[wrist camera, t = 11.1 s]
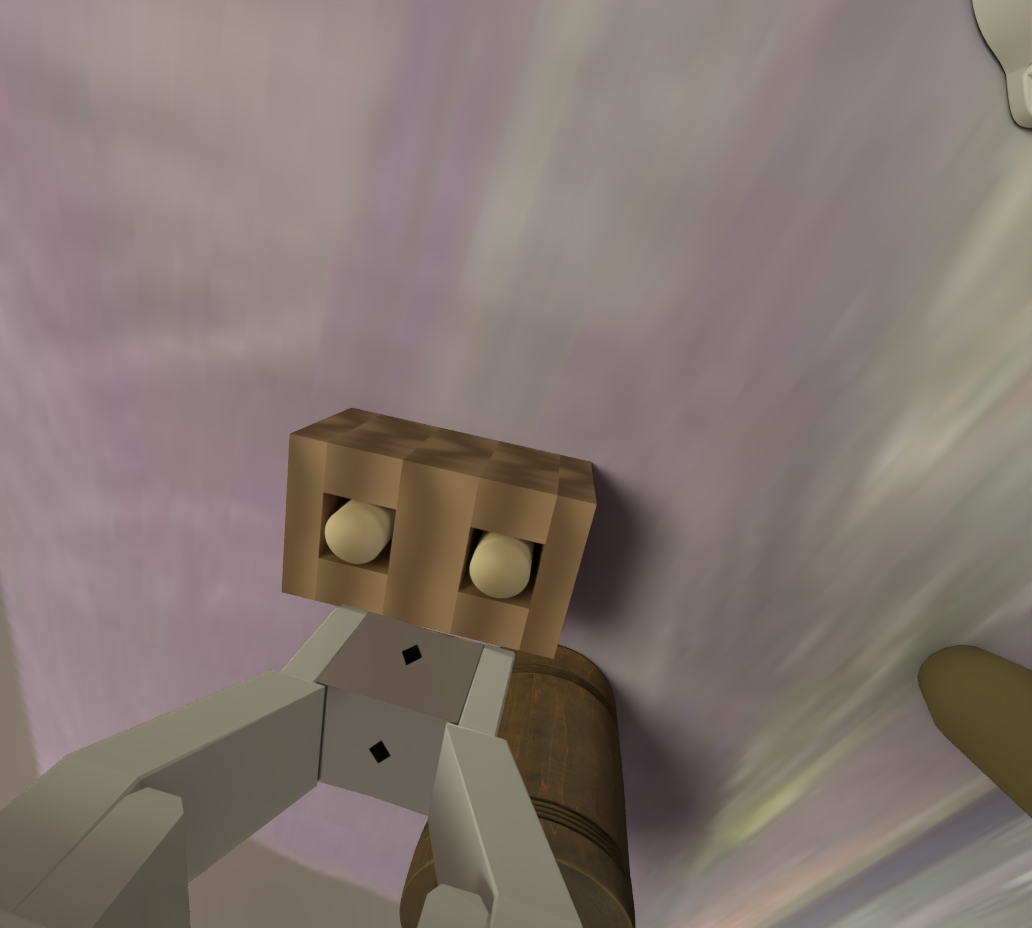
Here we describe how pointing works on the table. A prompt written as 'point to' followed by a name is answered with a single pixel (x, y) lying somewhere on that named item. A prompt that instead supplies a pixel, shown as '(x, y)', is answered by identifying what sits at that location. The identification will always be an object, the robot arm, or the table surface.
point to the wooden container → (561, 785)
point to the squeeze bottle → (984, 714)
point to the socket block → (437, 525)
